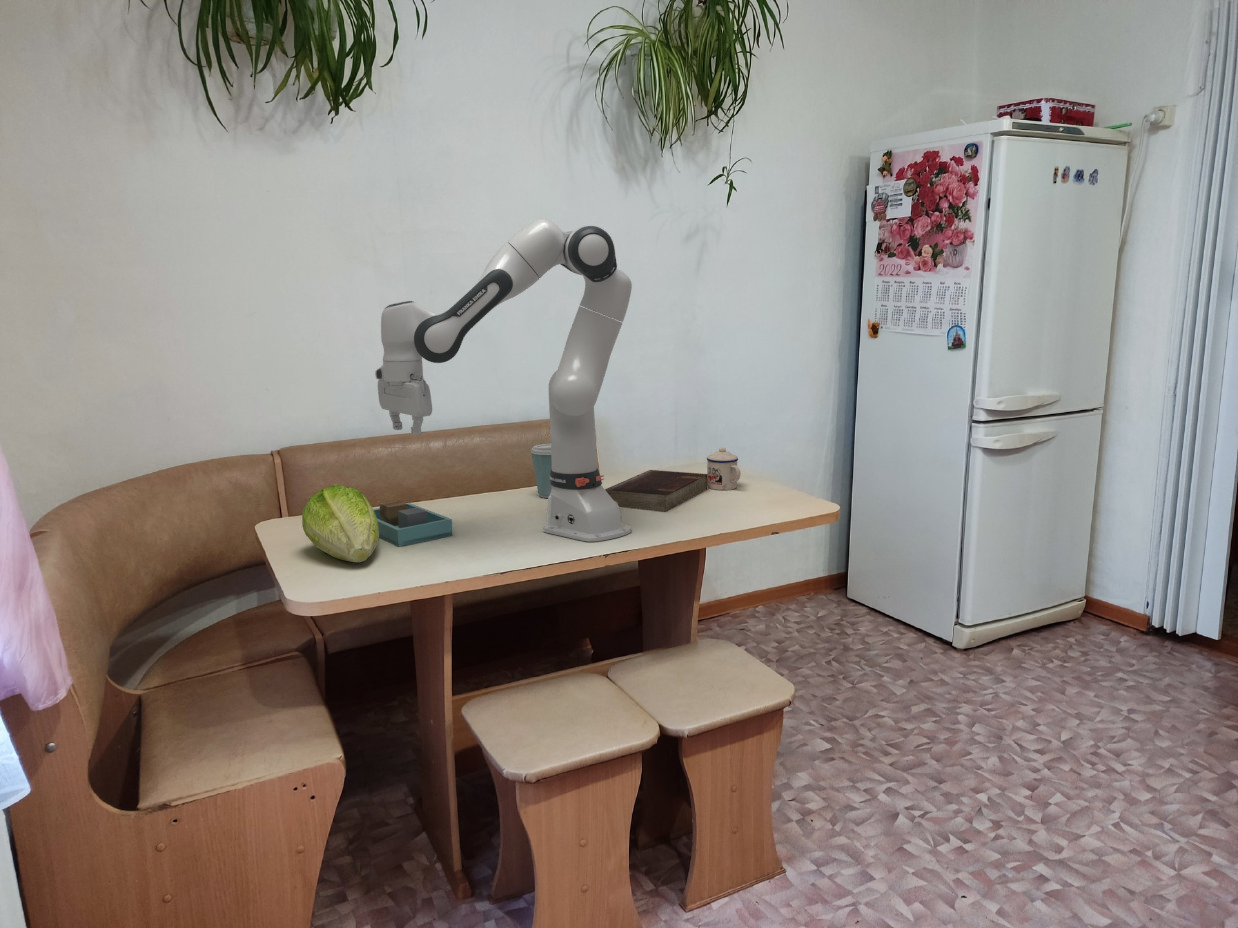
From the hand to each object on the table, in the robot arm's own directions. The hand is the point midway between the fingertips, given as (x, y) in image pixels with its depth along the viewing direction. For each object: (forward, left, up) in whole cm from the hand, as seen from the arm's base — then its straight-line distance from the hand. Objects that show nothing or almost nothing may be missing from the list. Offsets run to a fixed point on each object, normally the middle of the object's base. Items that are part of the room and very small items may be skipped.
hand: (406, 432), depth 204 cm
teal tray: (+4, 0, -25) cm, 25 cm away
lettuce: (-4, +18, -25) cm, 32 cm away
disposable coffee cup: (+10, -48, -25) cm, 55 cm away
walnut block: (+10, 0, -24) cm, 26 cm away
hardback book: (-11, -69, -26) cm, 75 cm away
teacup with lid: (-17, -91, -25) cm, 96 cm away
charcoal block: (0, 0, -24) cm, 24 cm away
